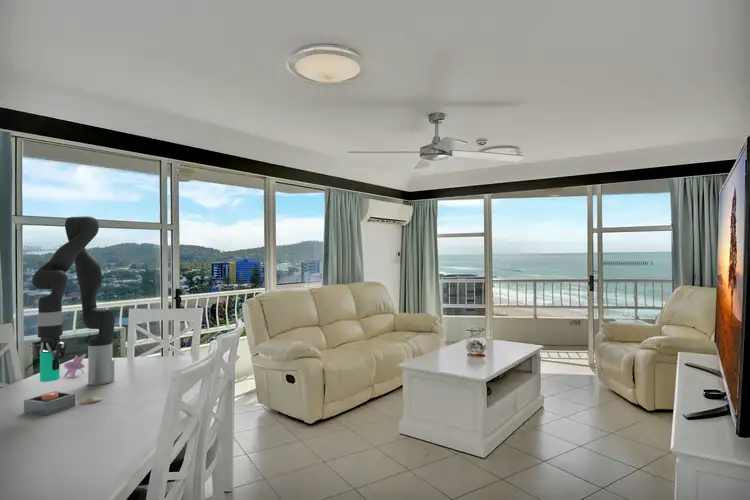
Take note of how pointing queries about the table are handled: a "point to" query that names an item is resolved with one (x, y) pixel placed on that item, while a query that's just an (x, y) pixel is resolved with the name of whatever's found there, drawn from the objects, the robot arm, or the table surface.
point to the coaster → (91, 400)
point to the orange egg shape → (49, 396)
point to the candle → (48, 368)
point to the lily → (74, 365)
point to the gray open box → (49, 404)
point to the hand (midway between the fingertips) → (50, 369)
